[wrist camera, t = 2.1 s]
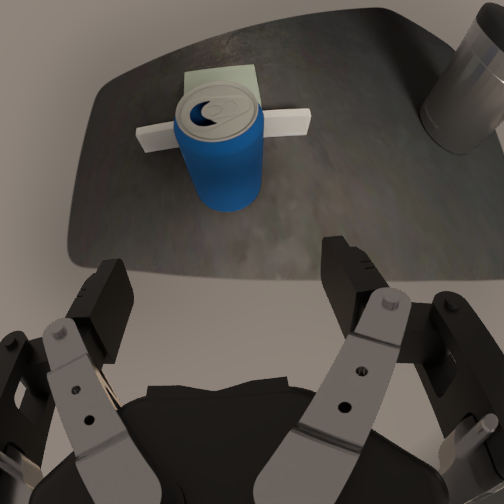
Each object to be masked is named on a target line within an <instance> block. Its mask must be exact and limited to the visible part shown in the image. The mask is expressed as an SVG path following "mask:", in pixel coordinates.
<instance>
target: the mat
mask: <svg viewBox="0 0 504 504" xmlns="http://www.w3.org/2000/svg"><path fill="white" fill-rule="evenodd" d="M212 81H231V82H236V83H239V84H241V85H243V86H245V87H247V88H248V89H249V90H250V91H252V93H253V94H254V95H255V97H256V99H257V101H258V103H259V104H260V106H261V100H260V95H259V89H258V84H257V78H256V73H255V68H254V65H241V66H230V67H220V68H212V69H204V70H197V71H190V72H185V77H184V95H185V94H186V93H187V92H189V91H190V90H191V89H193V88H195V87H196V86H198V85H201V84H204V83H207V82H212ZM261 108H262V106H261Z"/></svg>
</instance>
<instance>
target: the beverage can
mask: <svg viewBox="0 0 504 504" xmlns="http://www.w3.org/2000/svg"><path fill="white" fill-rule="evenodd" d="M173 128H174V134H175V137H176V140H177V142H178V145H179V148H180V150H181V153H182V155H183V158H184V161H185V163H186V166H187V168H188V171H189V174H190V176H191V179H192V181H193V184H194V186H195V189H196V191H197V194H198V196H199V198H200V199H201V201H202V202H203V203H204V204H205V205H207V206H208V207H210V208H211V209H214V210H216V211H221V212H233V211H238V210H241V209H243V208H245V207H246V206H248V205H249V204H251V203H252V202H253V201H254V200H255V198H256V197H257V195H258V193H259V191H260V188H261V176H262V156H263V136H264V113H263V110H262V108H261V106H260V104H259V103H258V101H257V99H256V97H255V95H254V94H253V93H252V91H250V90H249V89H248V88H247V87H245V86H243V85H241V84H239V83H236V82H231V81H212V82H207V83H204V84H201V85H198V86H196V87H195V88H193V89H191V90H190V91H189V92H187V93H186V94H185V95H184V96H183V97H182V98H181V100H180V101H179V103H178V105H177V108H176V114H175V118H174V126H173Z"/></svg>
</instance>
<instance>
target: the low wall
mask: <svg viewBox="0 0 504 504" xmlns="http://www.w3.org/2000/svg"><path fill="white" fill-rule="evenodd" d="M263 113H264V136H263V137H277V136H294V135H307V131H308V127H309V123H310V119H311V113H310V109H282V110H265V111H263ZM173 126H174V121H171V122H166V123H160V124H155V125H149V126H144V127H139V128H136V137H137V139H138V141H139V142H140V144H141V146H142V148H143V149H144V151H145V153H148V152H153V151H159V150H165V149H171V148H177V147H179V145H178V142H177V140H176V137H175V134H174V128H173Z"/></svg>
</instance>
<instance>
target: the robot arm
mask: <svg viewBox="0 0 504 504" xmlns="http://www.w3.org/2000/svg"><path fill="white" fill-rule="evenodd" d="M420 118H421V121H422V124H423V126H424V128H425V129H426V131H427V132H428V134H429V135H430V136H431V137H432V138H433V139H434V141H435V142H437V143H438V144H439V145H440V146H441V147H443V148H444V149H446V150H448V151H450V152H452V153H455V154H459V155H463V154H467V153H468V152H470V151H471V150H472V149H473V148H474V147H477V146H478V145H479V144H480V143H481V142H482V141H483V140H485V139H486V138H487V137H488V136H489V135H490V134H491V133H492V132H493V131H494V130H495V129H496V128H497V127H498V126H499V125H500V123H502V121H503V120H504V7H503V6H500V5H498V4H495V3H485V4H484V5H483V6H482V7H481V9H480V11H479V12H478V14H477V16H476V18H475V20H474V21H473V23H472V25H471V27H470V28H469V30H468V32H467V34H466V36H465V37H464V39H463V40H462V42H461V44H460V46H459V47H458V49H457V51H456V52H455V54H454V55H453V57H452V59H451V60H450V62H449V63H448V65H447V67H446V68H445V70H444V71H443V73H442V75H441V76H440V78H439V79H438V81H437V83H436V84H435V86H434V87H433V89H432V90H431V92H430V93H429V95H428V96H427V98H426V99H425V101H424V102H423V104H422V106H421V108H420ZM321 281H322V284H323V287H324V290H325V292H326V294H327V297H328V299H329V302H330V304H331V306H332V308H333V311H334V313H335V316H336V318H337V320H338V323H339V325H340V328H341V330H342V333H343V335H344V338H345V342H344V344H343V346H342V348H341V350H340V352H339V354H338V356H337V357H336V359H335V361H334V363H333V365H332V366H331V368H330V370H329V372H328V374H327V376H326V377H325V379H324V381H323V383H322V384H321V386H320V388H319V390H318V391H317V393H316V392H313V391H311V390H307V389H304V388H299V387H291V386H289V385H288V380H287V377H279V378H271V379H262V380H253V381H249V382H246V383H242V384H239V385H236V386H233V387H229V388H226V389H222V390H218V391H209V390H203V389H197V388H191V387H186V386H181V385H177V386H148V389H147V394H146V396H144V397H141V398H138V399H135V400H133V401H131V402H129V403H127V404H125V405H122V404H121V402H120V400H119V399H118V397H117V395H116V394H115V392H114V390H113V388H112V386H111V385H110V383H109V381H108V379H107V377H106V375H105V374H104V372H103V371H102V366H103V364H115V360H116V357H117V354H118V350H119V347H120V343H121V341H122V337H123V334H124V331H125V328H126V325H127V322H128V319H129V316H130V313H131V310H132V307H133V303H134V294H133V289H132V287H131V284H130V281H129V278H128V275H127V272H126V269H125V266H124V263H123V261H122V260H121V259H111V260H104V261H102V263H101V265H100V266H99V268H98V270H97V272H96V273H93V274H92V275H91V276H90V277H89V278H88V279H87V280H86V281H85V282H84V284H83V286H82V288H81V291H79V293H78V295H77V298H75V300H74V302H73V304H72V306H71V308H70V309H69V311H68V313H67V315H66V317H65V318H61V319H58V320H56V321H54V322H52V323H51V324H50V325H49V326H48V327H47V328H46V329H45V330H44V333H43V337H41V338H37V339H33V340H30V341H29V340H28V339H27V337H26V335H25V334H24V333H23V332H22V331H14V332H12V333H10V334H8V335H7V336H5V337H4V338H3V339H2V341H1V342H0V504H465V503H467V502H469V501H480V500H483V499H484V498H486V497H488V496H490V495H492V494H493V493H495V492H497V491H499V490H500V489H502V488H503V487H504V354H503V353H502V351H501V350H500V348H499V346H498V345H497V343H496V342H495V340H494V339H493V337H492V336H491V334H490V333H489V331H488V330H487V328H486V327H485V325H484V324H483V323H482V321H481V320H480V318H479V317H478V316H477V314H476V313H475V311H474V310H473V309H472V307H471V306H470V305H469V303H468V302H467V301H466V300H465V299H464V298H463V297H462V296H461V295H459V294H457V293H454V292H449V291H443V292H439V293H438V294H436V295H435V297H434V300H433V302H432V304H429V303H413V302H411V300H410V298H409V297H408V296H407V295H406V294H405V293H404V292H402V291H401V290H398V289H395V288H390V287H389V286H388V284H387V283H386V281H385V280H384V278H383V277H382V275H381V274H380V273H379V271H378V270H377V268H375V265H374V264H373V263H372V262H371V260H370V258H369V257H368V256H367V254H366V253H365V252H364V251H362V250H360V249H359V248H357V247H350V246H349V245H348V243H347V242H346V240H345V239H344V237H343V236H332V237H324V238H323V240H322V255H321ZM450 352H451V353H450ZM451 354H452V355H451ZM452 356H453V357H452ZM453 358H454V359H453ZM454 360H455V361H454ZM455 362H456V363H455ZM396 363H414V365H415V368H416V370H417V372H418V374H419V377H420V379H421V381H422V384H423V386H424V388H425V391H426V393H427V395H428V398H429V400H430V403H431V405H432V408H433V410H434V412H435V415H436V418H437V420H438V423H439V426H440V428H441V431H442V433H443V436H444V439H445V440H444V441H443V442H442V444H441V445H440V448H439V452H438V453H439V454H438V457H439V471H437V470H436V469H434V468H433V467H432V466H430V465H429V464H427V463H425V462H424V461H422V460H420V459H419V458H417V457H415V456H414V455H412V454H411V453H409V452H407V451H405V450H404V449H402V448H401V447H399V446H398V445H396V444H395V443H393V442H391V441H390V440H388V439H386V438H385V437H384V436H382V435H380V434H379V433H377V432H376V431H374V430H373V429H371V428H372V425H373V423H374V421H375V418H376V416H377V413H378V411H379V408H380V406H381V403H382V401H383V398H384V395H385V393H386V390H387V387H388V384H389V382H390V379H391V376H392V373H393V370H394V367H395V364H396ZM20 381H21V382H22V384H23V385H24V386H25V387H26V391H25V394H24V397H23V399H22V402H21V406H20V408H19V409H18V408H17V407H16V405H15V401H14V395H15V392H16V389H17V387H18V384H19V382H20ZM55 405H56V407H57V410H58V413H59V415H60V418H61V421H62V423H63V426H64V429H65V431H66V434H67V435H68V438H69V441H70V443H71V446H72V448H73V450H74V451H73V452H72V453H71V454H70V455H68V456H67V457H66V458H65V459H64V460H63V461H62V462H61V463H60V464H59V465H58V466H56V467H55V468H54V469H53V470H52V471H51V472H50V473H49V474H48V475H47V476H46V477H44V478H43V475H42V472H41V465H42V459H43V455H44V450H45V445H46V441H47V436H48V432H49V428H50V424H51V420H52V416H53V412H54V409H55Z"/></svg>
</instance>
